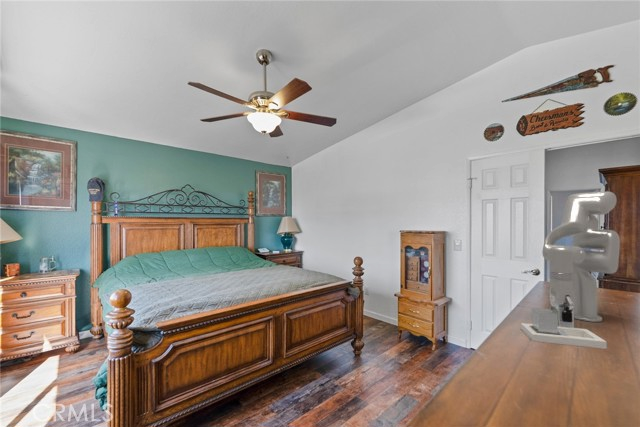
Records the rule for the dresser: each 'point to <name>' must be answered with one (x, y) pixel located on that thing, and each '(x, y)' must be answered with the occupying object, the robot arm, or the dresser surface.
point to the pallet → (566, 337)
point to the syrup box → (560, 313)
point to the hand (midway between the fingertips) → (561, 318)
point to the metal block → (544, 321)
